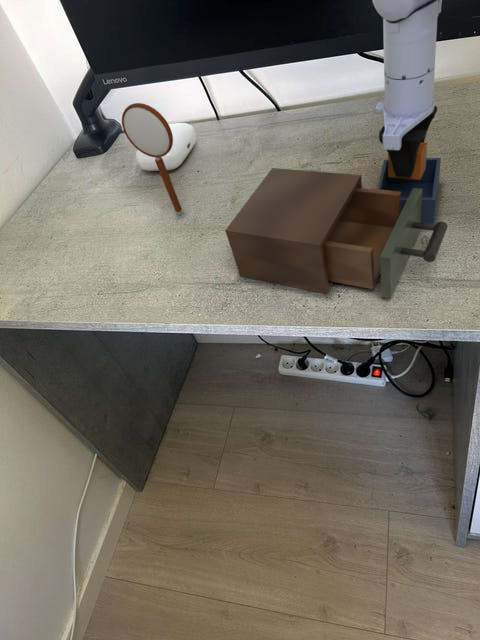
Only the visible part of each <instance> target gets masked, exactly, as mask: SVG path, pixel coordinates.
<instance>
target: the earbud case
mask: <svg viewBox="0 0 480 640" xmlns="http://www.w3.org/2000/svg"><path fill="white" fill-rule="evenodd" d="M168 124H169V126H170V129H171V131H172V135H173V145H172V148H171V150H170V151H169V153H168V154H166V155H165V156H163V157H162V159H163V162H164V165H165V167H166V170H167V171H173V170H175V169H177V168H179V167H180V166H181V165H182V164H183V162H184V161H185V160H186V158H187V157H188V155H189V154H190V152H191V151H192V149H193V148H194V146H195V145H196V141H197V134H196V130H195V129H194V127H193V125H191V124H189V123H187V122H186V123H185V122H176V123H168ZM155 159H156V158H155V157H150V156H148V155H145V154H143V153H142V152H140V151H139V150H138V149H137V148H136V152H135V160H136V164H137V165H138V167H139V168H140V169H141V170H143V171H147V172H159V169H158V167H157V164H156V162H155Z"/></svg>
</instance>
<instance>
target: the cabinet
mask: <svg viewBox="0 0 480 640" xmlns="http://www.w3.org/2000/svg"><path fill="white" fill-rule="evenodd" d="M362 183H363V182H362V174H354V173H341V172H329V171H315V170H302V169H292V168H291V169H289V168H278V167H272V168H271V169H270V170H269V172H268V173H267V174H266V175H265V176H264V178H263V179H262V181H261V182H260V183H259V184H258V186H257V188H256V189H255V190H254V192H253V193H252V194H251V195H250V197H249V198H248V199H247V201H246V202H245V203H244V205H243V206H242V207H241V209H240V210H239V211H238V213H237V214H236V215H235V216H234V218H233V219H232V221H231V222H230V223H229V225H228V226H227V227H226V228H225V234H226V238H227V240H228V243H229V246H230V249H231V253H232V255H233V258H234V262H235V264H236V268H237V270H238V274H239V277H241V278H245V279H246V278H247V279H251V280H257V281H260V282H266V283H271V284H276V285H281V286H286V287H290V288H295V289H299V290H304V291H309V292H315V293H320V294H324V295H328V294H329V293H330V291H331V289H332V287H333V285H334V283H335V282H332V281H328V276H327V269H326V262H325V255H324V248H323V246H324V244H325V242H326V240H327V239H328V237H329V235H330V233H331V232H332V230H333V228H334V227H335V225H336V223H337V221H338V220H339V218H340V216H341V214H342V213H343V211H344V209H345V208H346V206H347V204H348V202H349V201H350V199H351V197H352V195H353V194H354V192H355V190H356V189H357V188H363V184H362Z"/></svg>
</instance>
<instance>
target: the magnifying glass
mask: <svg viewBox="0 0 480 640" xmlns="http://www.w3.org/2000/svg"><path fill="white" fill-rule="evenodd" d="M169 124H170V123H168V121H167V120H166V118H165V117H164V116H163V115H162V114H161V113H160V112H159V111H158V110H157V109H155V108H154V107H152V106H151V105H149V104H147V103H146V104H145V103H142V102H135V103H132V104H129V105H128V106H126V107H125V109H124V110H123V112H122V116H121V125H122V131H123V132H124V135H125V136H126V138H127V139H128V141H129V143H131V145H132V146H133V147H134V148H135V149H136V150H137V149H138V150H139V151H140V152H142V153H143V154H145V155H148V156H150V157H155V158H156V159H155V162H156V164H157V167H158V169H159V171H158V172H159V175H160V177H161V179H162V181H163V184H164V186H165V189H166V192H167V194H168V197H169V199H170V201H171V204H172V206H173V209H174V211H175V212H176V213H177V215H178V216H181V215H182V214H183V211H182V208H183V207H182V206H181V205H182V204H181V203H180V201H179V198H178V196H177V192H176V190H175V188H174V185H173V182H172V180H171V177H170V175H169V171H168V170H166V167H165V165H164V162H163V159H162V157H163V156H165V155H166V154H168V153H169V151H170V150H171V148H172V145H173V135H172V131H171V129H170V126H169Z"/></svg>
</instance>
